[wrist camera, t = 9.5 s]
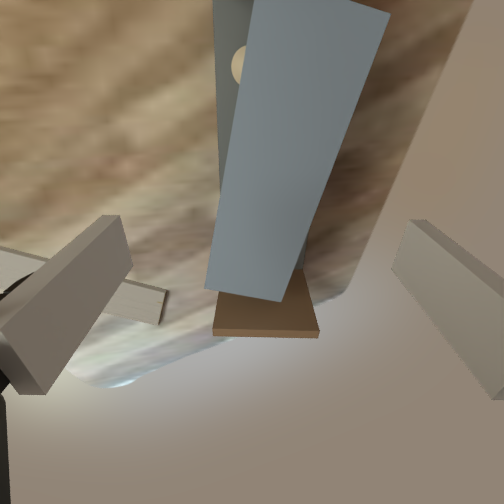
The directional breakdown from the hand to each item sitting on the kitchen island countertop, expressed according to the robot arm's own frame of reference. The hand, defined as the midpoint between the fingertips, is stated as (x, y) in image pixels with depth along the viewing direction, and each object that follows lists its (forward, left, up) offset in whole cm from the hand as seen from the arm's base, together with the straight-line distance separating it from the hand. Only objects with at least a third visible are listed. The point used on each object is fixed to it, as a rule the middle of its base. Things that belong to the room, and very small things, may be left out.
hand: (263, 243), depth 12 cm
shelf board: (+1, +1, -17) cm, 17 cm away
